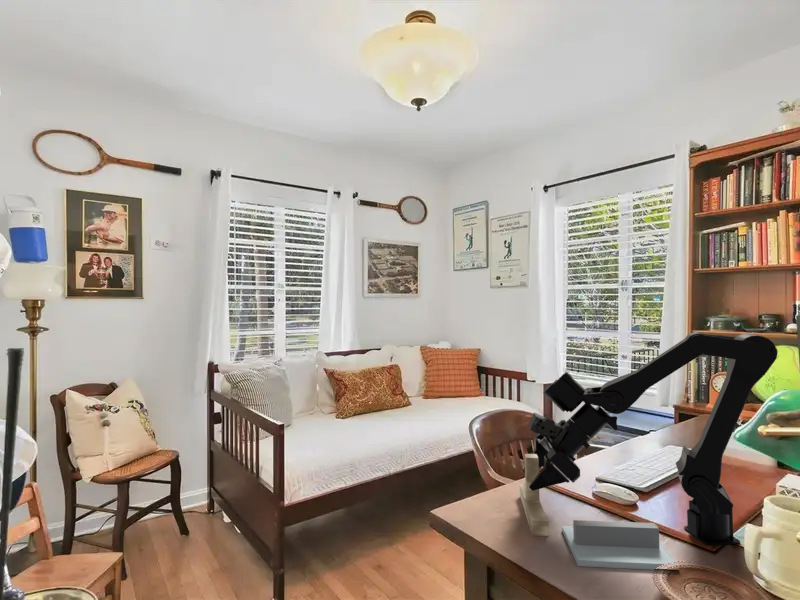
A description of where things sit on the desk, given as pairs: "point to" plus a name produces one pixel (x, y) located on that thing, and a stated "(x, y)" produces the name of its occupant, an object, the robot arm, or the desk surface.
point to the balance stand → (616, 544)
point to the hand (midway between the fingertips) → (527, 480)
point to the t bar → (533, 498)
